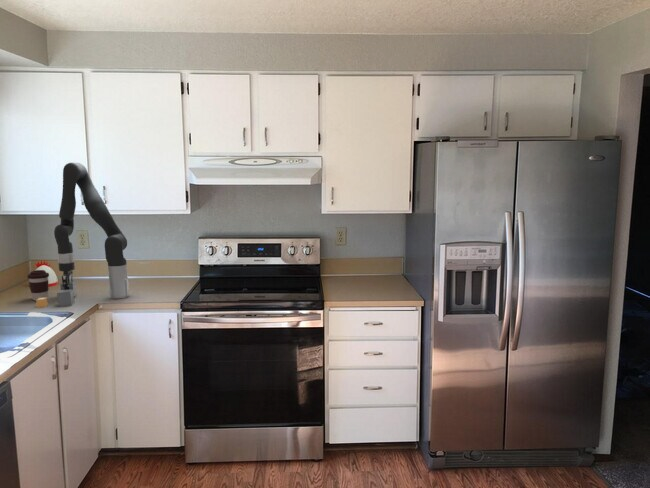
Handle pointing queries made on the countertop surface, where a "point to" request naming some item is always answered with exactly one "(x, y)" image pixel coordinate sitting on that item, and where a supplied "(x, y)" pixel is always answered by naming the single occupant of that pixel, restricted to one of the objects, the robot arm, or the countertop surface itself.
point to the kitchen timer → (52, 276)
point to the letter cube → (42, 302)
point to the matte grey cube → (65, 298)
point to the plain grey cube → (70, 287)
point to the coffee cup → (38, 284)
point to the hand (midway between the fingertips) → (68, 292)
